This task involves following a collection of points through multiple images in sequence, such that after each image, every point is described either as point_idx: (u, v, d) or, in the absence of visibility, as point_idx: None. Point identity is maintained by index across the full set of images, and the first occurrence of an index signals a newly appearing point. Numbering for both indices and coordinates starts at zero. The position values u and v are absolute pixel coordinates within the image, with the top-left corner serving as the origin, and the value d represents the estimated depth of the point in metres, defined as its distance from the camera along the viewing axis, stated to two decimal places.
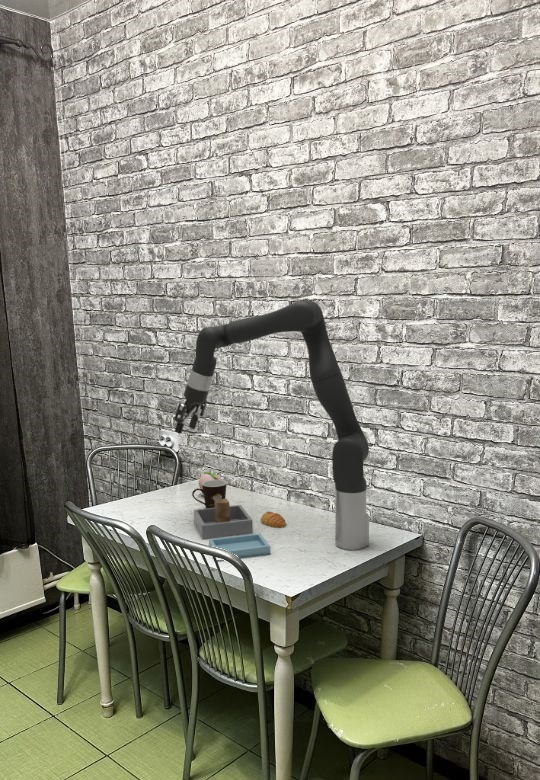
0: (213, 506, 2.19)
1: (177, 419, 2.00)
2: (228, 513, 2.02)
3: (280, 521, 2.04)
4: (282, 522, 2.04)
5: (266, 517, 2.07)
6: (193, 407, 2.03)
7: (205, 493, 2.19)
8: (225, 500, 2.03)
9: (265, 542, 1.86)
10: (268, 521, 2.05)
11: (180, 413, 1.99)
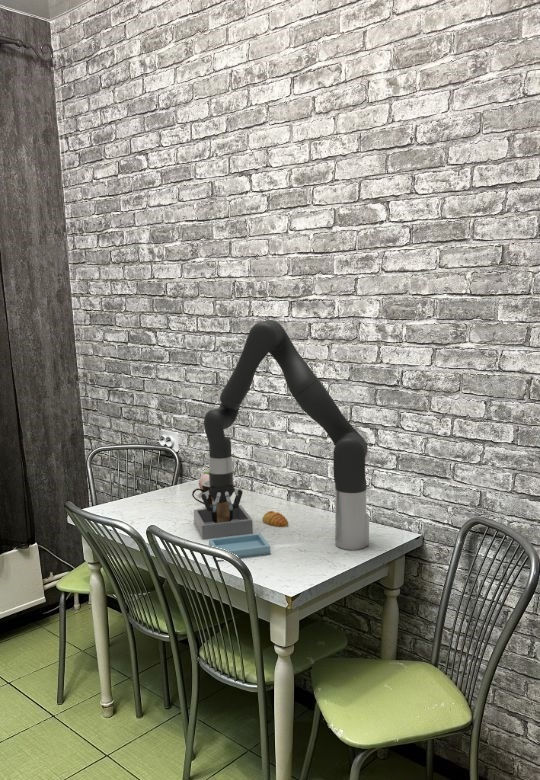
0: None
1: None
2: (228, 513, 2.02)
3: (282, 520, 2.05)
4: (284, 521, 2.04)
5: (267, 516, 2.07)
6: (216, 493, 2.00)
7: None
8: None
9: (265, 542, 1.86)
10: (270, 520, 2.05)
11: None
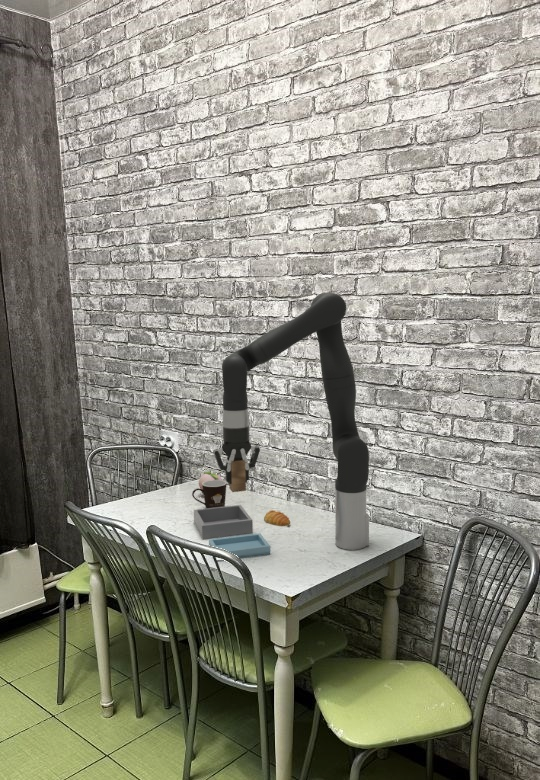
0: (213, 506, 2.19)
1: None
2: (244, 473, 1.81)
3: (284, 519, 2.05)
4: (286, 520, 2.05)
5: (269, 516, 2.08)
6: (231, 450, 1.80)
7: (205, 493, 2.19)
8: None
9: (265, 542, 1.86)
10: (272, 520, 2.06)
11: (217, 460, 1.80)
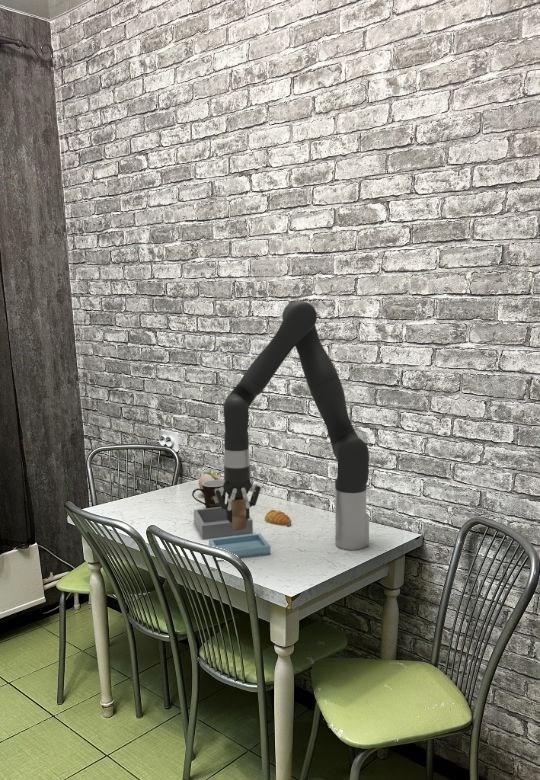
0: (213, 506, 2.19)
1: None
2: (244, 511, 1.83)
3: (285, 519, 2.06)
4: (288, 520, 2.06)
5: (270, 515, 2.08)
6: (232, 489, 1.81)
7: (205, 493, 2.19)
8: None
9: (265, 542, 1.86)
10: (273, 519, 2.06)
11: (218, 499, 1.82)
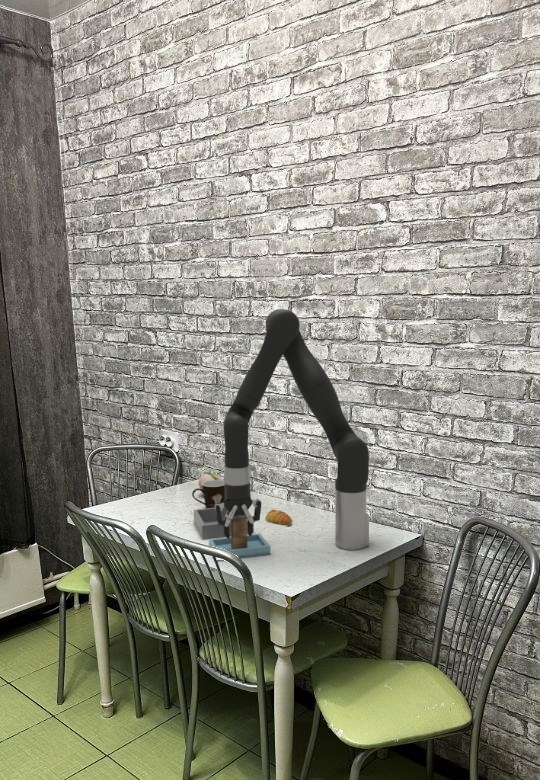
0: (213, 506, 2.19)
1: (218, 521, 1.83)
2: (245, 532, 1.84)
3: (287, 518, 2.06)
4: (289, 519, 2.06)
5: (271, 515, 2.09)
6: (232, 506, 1.82)
7: (205, 493, 2.19)
8: (242, 518, 1.85)
9: (265, 542, 1.86)
10: (274, 519, 2.07)
11: (216, 514, 1.82)
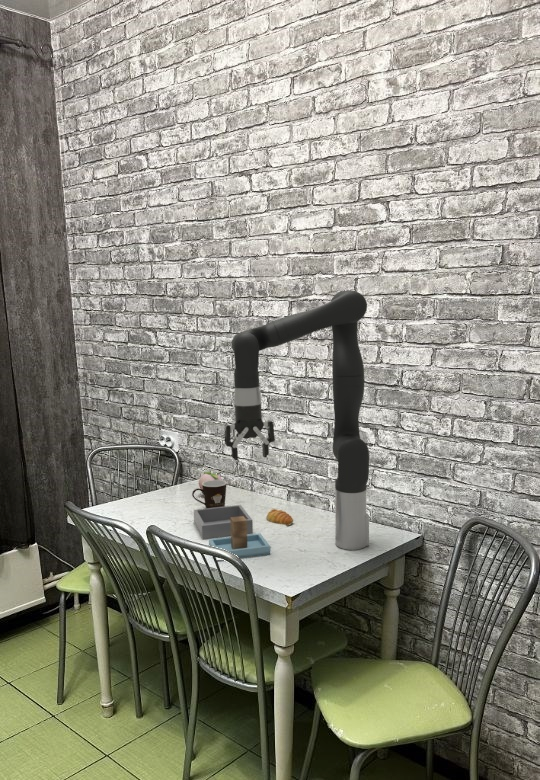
0: (213, 506, 2.19)
1: (225, 442, 1.78)
2: (245, 532, 1.84)
3: (288, 518, 2.07)
4: (290, 518, 2.07)
5: (272, 515, 2.09)
6: (244, 428, 1.78)
7: (205, 493, 2.19)
8: (242, 518, 1.85)
9: (265, 542, 1.86)
10: (275, 518, 2.07)
11: (225, 435, 1.78)
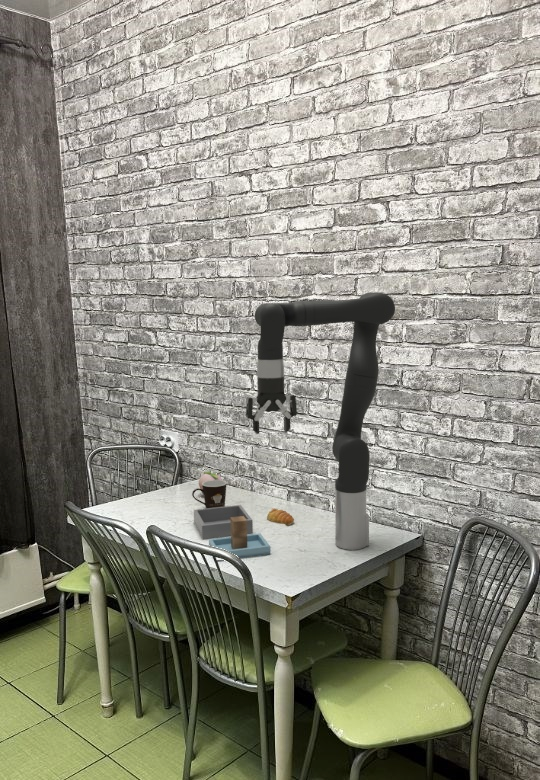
0: (213, 506, 2.19)
1: (247, 415, 1.75)
2: (245, 532, 1.84)
3: (288, 517, 2.07)
4: (291, 518, 2.07)
5: (273, 514, 2.09)
6: (266, 401, 1.75)
7: (205, 493, 2.19)
8: (242, 518, 1.85)
9: (265, 542, 1.86)
10: (276, 518, 2.08)
11: (247, 407, 1.75)
